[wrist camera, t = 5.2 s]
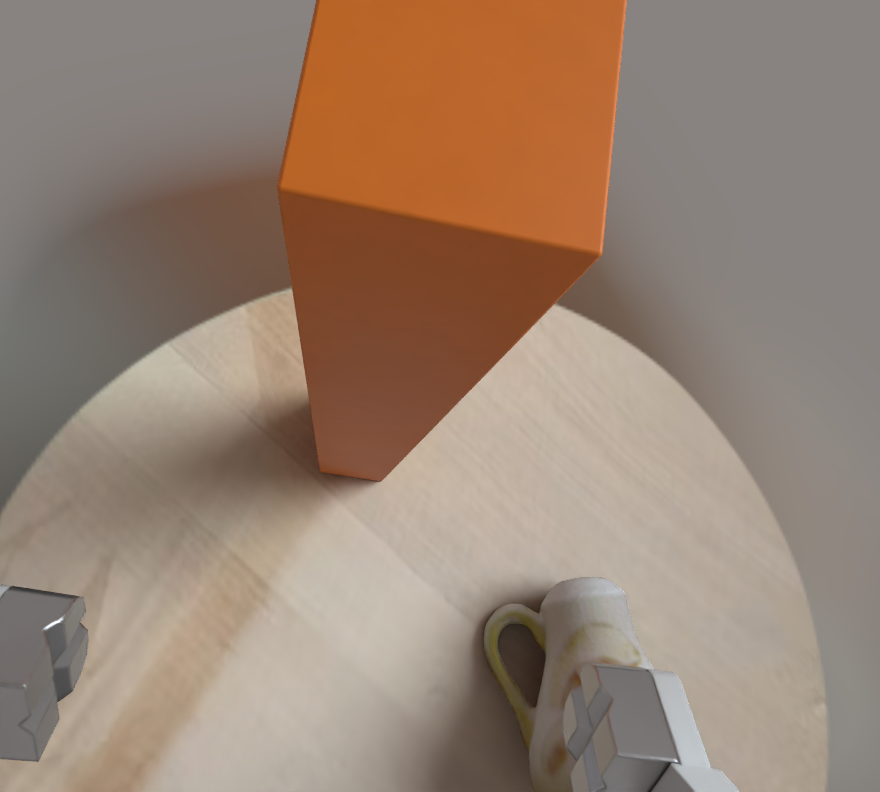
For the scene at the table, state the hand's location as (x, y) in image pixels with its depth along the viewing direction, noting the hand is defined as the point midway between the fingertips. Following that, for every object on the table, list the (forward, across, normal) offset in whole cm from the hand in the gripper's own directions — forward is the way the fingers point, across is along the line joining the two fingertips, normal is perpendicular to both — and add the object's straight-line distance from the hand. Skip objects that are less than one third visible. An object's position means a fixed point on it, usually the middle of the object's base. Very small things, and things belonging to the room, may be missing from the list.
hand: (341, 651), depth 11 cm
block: (+20, 0, +11) cm, 23 cm away
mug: (+13, -12, +18) cm, 25 cm away
